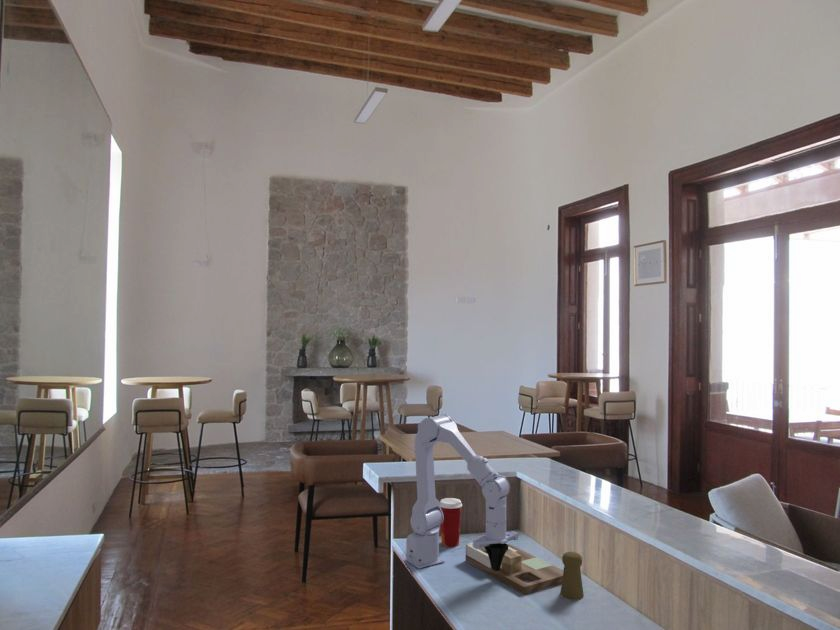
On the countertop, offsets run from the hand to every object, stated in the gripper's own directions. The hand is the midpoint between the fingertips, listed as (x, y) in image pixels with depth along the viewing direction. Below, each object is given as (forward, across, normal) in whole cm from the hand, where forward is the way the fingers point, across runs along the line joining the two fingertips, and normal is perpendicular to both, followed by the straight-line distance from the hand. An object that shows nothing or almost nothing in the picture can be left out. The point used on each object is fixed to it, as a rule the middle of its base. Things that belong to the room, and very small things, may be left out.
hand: (495, 569), depth 174 cm
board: (+3, +9, +2) cm, 10 cm away
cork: (+3, +12, -18) cm, 21 cm away
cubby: (+1, +6, +10) cm, 11 cm away
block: (+1, +6, 0) cm, 6 cm away
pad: (+3, +15, 0) cm, 15 cm away
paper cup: (+3, +5, +30) cm, 30 cm away
